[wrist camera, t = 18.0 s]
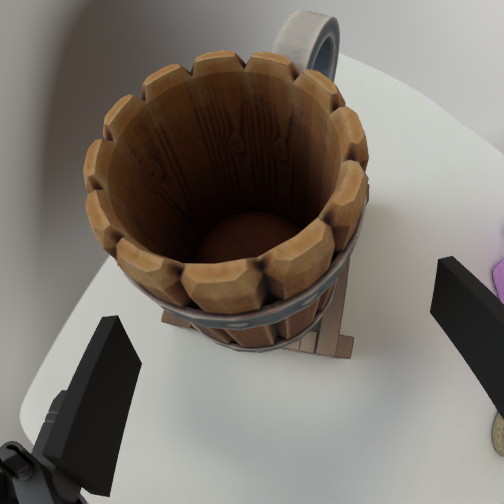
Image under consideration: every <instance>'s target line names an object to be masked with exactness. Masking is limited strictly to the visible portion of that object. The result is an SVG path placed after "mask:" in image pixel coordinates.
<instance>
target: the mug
mask: <svg viewBox="0 0 504 504" xmlns="http://www.w3.org/2000/svg"><path fill="white" fill-rule="evenodd" d="M339 42H340V33H339V24H338V21H337V19H336V18H335V17H332V16H328V15H324V14H320V13H315V12H311V11H306V10H301V9H300V10H297V11H295V12H294V13H293V14H292V15H291V16H290V17H289V18H288V19H287V20H286V22H285V23H284V25H283V26H282V28H281V29H280V31H279V34H278V36H277V38H276V40H275V43H274V45H273V49H272V52H271V53H269V52H257V53H253V54H252V56H251V57H250V59H249V61H248V63H247V64H245V63H244V61H243V60H242V59H241V58H240V57H239V56H238V55H237V54H236V53H235V52H231V51H228V50H226V51H217V52H211V53H205V54H203V55H201V56H199V57H197V58H196V59H195V61H194V64H193V67H192V69H191V72H189V71H188V70H186V69H185V68H184V67H182V66H181V65H179V64H176V65H169V66H167V67H165V68H163V69H160V70H159V71H157V72H155V73H153V74H152V75H150V76H148V78H147V79H146V80H145V82H144V83H143V88H142V97H141V99H139V98H137V97H135V96H133V95H130V94H129V95H127V96H125V97H123V98H121V99H120V100H119V101H118V102H117V103H116V104H115V105H114V106H113V107H112V109H111V110H110V111H109V112H108V114H107V115H106V116H105V121H104V128H103V136H104V138H105V139H96V140H95V142H94V143H93V144H92V145H91V146H90V147H89V149H88V152H87V155H86V159H85V164H84V169H83V171H84V178H85V186H86V191H87V192H88V193H89V194H88V197H87V200H86V204H85V207H86V211H87V215H88V218H89V222H90V225H91V229H92V231H93V233H94V235H95V236H96V238H97V239H98V241H99V243H100V244H101V246H102V247H103V249H104V250H106V251H107V252H108V253H109V254H110V255H111V256H112V257H113V258H114V259H115V260H116V262H117V265H118V266H119V267H120V268H121V269H122V271H123V272H124V274H125V275H126V277H127V278H128V280H129V281H130V283H132V284H133V285H134V286H135V287H137V288H138V289H139V290H140V291H141V292H143V293H144V294H145V295H146V296H148V297H149V298H150V299H151V300H153V301H154V302H155V303H156V304H158V305H159V306H161V307H162V308H164V309H165V310H166V311H168V312H169V313H171V314H172V315H174V316H176V317H179V318H182V319H184V320H187V321H189V322H190V323H191V324H192V325H193V327H194V328H195V329H197V330H198V331H200V332H201V333H202V334H204V335H205V336H206V337H208V338H209V339H211V340H212V341H214V342H215V343H217V344H219V345H222V346H225V347H227V348H230V349H233V350H236V351H241V352H255V353H262V352H267V351H272V350H276V349H281V348H284V347H286V346H288V345H290V344H292V343H293V342H295V341H297V340H299V339H301V338H303V337H304V336H305V335H306V334H307V333H308V332H309V331H310V330H311V329H312V328H313V327H315V326H316V325H317V324H318V323H319V321H320V319H321V318H322V316H323V314H324V313H325V311H326V310H327V308H328V306H329V305H330V302H331V300H332V297H333V294H334V290H335V286H336V283H337V279H338V276H339V274H340V273H341V271H342V269H343V267H344V266H345V264H346V262H347V260H348V259H349V257H350V255H351V253H352V251H353V249H354V246H355V244H356V241H357V239H358V236H359V234H360V229H361V225H362V220H363V215H364V210H365V205H366V190H367V184H368V177H367V175H366V174H365V171H366V167H367V163H368V159H369V155H368V148H367V141H366V136H365V133H364V130H363V128H362V125H361V122H360V120H359V117H358V115H357V113H355V112H354V111H353V110H351V109H350V108H348V107H347V106H346V107H345V101H344V99H343V97H342V95H341V93H340V91H339V90H338V88H337V86H336V85H335V84H334V78H335V73H336V67H337V61H338V54H339Z"/></svg>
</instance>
